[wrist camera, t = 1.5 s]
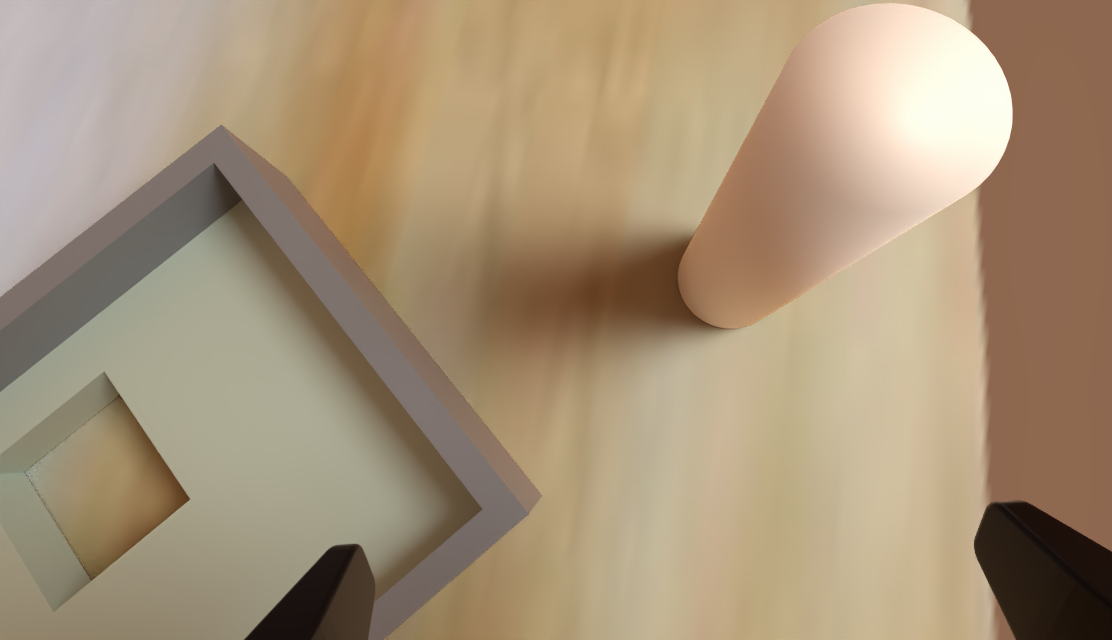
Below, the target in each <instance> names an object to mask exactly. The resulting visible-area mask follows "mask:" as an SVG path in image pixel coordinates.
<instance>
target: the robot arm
mask: <svg viewBox="0 0 1112 640" xmlns="http://www.w3.org/2000/svg"><path fill="white" fill-rule="evenodd" d="M974 550H975V554H976V557H977V560H978V562H979V564H980V566H981V568H982V570H983V572H984V574H985V576H986V579H987V581H988V583H989V585H990V587H991V589H992V591H993V593H994V595H995V597H996V600H997V602H998V604H999V606H1000V608H1001V610H1002V612H1003V614H1004V616H1005V618H1006V620H1007V623H1008V625H1009V626H1010V629H1011V631H1012V633H1013V635H1014V637H1015V639H1016V640H1112V552H1111V551H1110V550H1108V549H1107V548H1105V547H1103V546H1101V545H1100V544H1098V543H1096V542H1095V541H1093V540H1091V539H1089V538H1088V537H1086V536H1084V535H1083V534H1081V533H1079V532H1077V531H1076V530H1074V529H1072V528H1071V527H1069V526H1067V525H1066V524H1064V523H1062V522H1060V521H1059V520H1057V519H1055V518H1054V517H1052V516H1050V515H1049V514H1047V513H1045V512H1043V511H1042V510H1040V509H1038V508H1037V507H1035V506H1033V505H1031V504H1029V503H1027V502H1025V501H1021V500H1008V501H995V502H991V503H990V504H989V505H988V506H987V507H986V509H985V512H984V514H983V517H982V520H981V523H980V525H979V528H978V531H977V533H976V536H975V539H974ZM375 591H376V586H375V579H374V576H373V573H372V570H371V568H370V565H369V563H368V560H367V558H366V555H365V552H364V550H363V548H362V547H361V546H360V545H359V544H342V545H334V546H332V547H331V548H329V549H328V550H327V551H326V552H325V553H324V554H323V555H322V556H321V557H320V558H319V559H318V560H317V561H316V563H315V564H314V565H313V566H312V567H311V568H310V569H309V570H308V571H307V572H306V573H305V574H304V575H303V576H302V578H301V579H300V580H299V581H298V582H297V583H296V584H295V585H294V586H293V587H292V588H291V589H290V590H289V592H288V593H287V594H286V595H285V596H284V597H283V598H282V599H281V600H280V601H279V602H278V603H277V604H276V605H275V607H274V608H273V609H272V610H271V611H270V612H269V613H268V614H267V615H266V616H265V617H264V618H263V619H262V620H261V622H260V623H259V624H258V625H257V626H256V627H255V628H254V629H253V630H252V631H251V632H250V633H249V634H248V636H247V637H246V638H245V639H244V640H368V638H369V631H370V625H371V619H372V612H373V606H374V600H375Z"/></svg>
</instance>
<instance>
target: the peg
mask: <svg viewBox="0 0 1112 640" xmlns="http://www.w3.org/2000/svg"><path fill="white" fill-rule="evenodd" d="M1011 127H1012V102H1011V95H1010V92H1009V88H1008V84H1007V81H1006V79H1005V76H1004V74H1003V72H1002V69H1001V68H1000V66H999V64H998V63H997V61H996V59H995V58H994V56H993V55H992V54H991V52H990V51H989V50H988V48H987V47H986V46H985V45H984V44H983V43H982V42H981V41H980V40H979V39H978V38H977V37H976V36H975V35H974V34H973V33H971V32H970V31H969V30H967V29H966V28H965V27H964V26H962V25H960V24H959V23H957V22H955V21H954V20H952V19H950V18H948V17H946V16H944V15H942V14H939V13H937V12H934V11H931V10H928V9H925V8H922V7H917V6H912V5H906V4H895V3H884V4H872V5H865V6H860V7H856V8H852V9H849V10H846V11H844V12H841V13H839V14H836V15H834V16H832V17H831V18H829V19H827V20H825V21H823V22H822V23H821V24H819V25H818V26H816V27H815V28H814V29H812V30H811V31H810V32H809V33H808V34H807V35H806V36H805V37H804V38H803V39H802V40H801V41H800V42H799V44H798V45H797V46H796V47H795V49H794V50H793V52H792V53H791V55H790V57H789V59H788V60H787V62H786V64H785V66H784V68H783V70H782V71H781V73H780V75H779V77H778V79H777V81H776V83H775V84H774V86H773V88H772V90H771V92H770V94H769V96H768V98H767V99H766V101H765V103H764V105H763V107H762V109H761V111H760V113H759V114H758V116H757V118H756V120H755V122H754V124H753V126H752V128H751V129H750V131H749V133H748V135H747V137H746V139H745V141H744V142H743V144H742V146H741V148H740V150H739V152H738V154H737V156H736V157H735V159H734V161H733V163H732V165H731V167H730V169H729V171H728V172H727V174H726V176H725V178H724V180H723V182H722V184H721V185H720V187H719V189H718V191H717V193H716V195H715V197H714V199H713V200H712V202H711V204H710V206H709V208H708V210H707V212H706V214H705V215H704V217H703V219H702V221H701V223H700V225H699V227H698V229H697V230H696V232H695V234H694V236H693V238H692V240H691V242H690V243H689V245H688V247H687V249H686V251H685V253H684V255H683V257H682V259H681V261H680V265H679V268H678V287H679V291H680V294H681V296H682V299H683V301H684V302H685V304H686V306H687V307H688V308H689V309H690V311H691V312H692V313H693V314H694V315H695V316H697V317H698V318H699V319H701V320H702V321H704V322H706V323H708V324H710V325H713V326H716V327H719V328H726V329H736V328H743V327H747V326H749V325H752V324H754V323H756V322H758V321H760V320H761V319H763V318H764V317H766V316H768V315H769V314H771V313H773V312H774V311H776V310H778V309H779V308H781V307H783V306H784V305H786V304H788V303H789V302H791V301H792V300H794V299H796V298H797V297H799V296H801V295H802V294H804V293H806V292H807V291H809V290H811V289H812V288H814V287H815V286H817V285H819V284H820V283H822V282H824V281H825V280H827V279H829V278H830V277H832V276H834V275H835V274H837V273H839V272H840V271H842V270H843V269H845V268H847V267H848V266H850V265H852V264H853V263H855V262H857V261H858V260H860V259H862V258H863V257H865V256H866V255H868V254H870V253H871V252H873V251H875V250H876V249H878V248H880V247H881V246H883V245H885V244H886V243H888V242H890V241H891V240H893V239H894V238H896V237H898V236H899V235H901V234H903V233H904V232H906V231H908V230H909V229H911V228H913V227H914V226H916V225H917V224H919V223H921V222H922V221H924V220H926V219H927V218H929V217H931V216H932V215H934V214H936V213H937V212H939V211H941V210H942V209H944V208H945V207H947V206H949V205H950V204H952V203H954V202H955V201H957V200H959V199H960V198H962V197H964V196H965V195H967V194H968V193H970V192H971V191H972V190H974V189H975V188H976V187H978V186H979V185H980V184H981V183H982V182H983V181H984V180H985V179H986V178H987V177H988V176H989V175H990V174H991V172H992V171H993V170H994V168H995V167H996V166H997V164H998V163H999V161H1000V159H1001V157H1002V155H1003V153H1004V151H1005V149H1006V146H1007V143H1008V140H1009V137H1010V132H1011Z"/></svg>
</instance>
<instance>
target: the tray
mask: <svg viewBox="0 0 1112 640" xmlns="http://www.w3.org/2000/svg"><path fill="white" fill-rule="evenodd" d="M119 395H120V396H121V397H122V398H123V400H124V401H125V403H126V404H127V406H128V407H129V409H130V410H131V412H132V413H133V415H134V416H135V418H136V419H137V421H138V422H139V424H140V425H141V427H142V428H143V430H144V431H145V433H146V434H147V436H148V437H149V439H150V440H151V442H152V443H153V445H154V446H155V448H156V449H157V451H158V452H159V453H160V455H161V456H162V458H163V459H164V461H165V462H166V464H167V465H168V467H169V468H170V470H171V471H172V473H173V474H174V476H175V477H176V479H177V480H178V482H179V483H180V485H181V486H182V488H183V489H184V491H185V492H186V494H187V495H188V497H189V498H190V500H189V501H188V502H186V503H185V504H184V505H183V506H182V507H180V508H179V509H178V510H177V511H176V512H174V513H173V514H172V515H171V516H169V517H168V518H167V519H166V520H165V521H163V522H162V523H161V524H160V525H159V526H157V527H156V528H155V529H154V530H153V531H151V532H150V533H149V534H148V535H146V536H145V537H144V538H143V539H142V540H140V541H139V542H138V543H137V544H136V545H134V546H133V547H132V548H131V549H129V550H128V551H127V552H126V553H125V554H123V555H122V556H121V557H120V558H119V559H117V560H116V561H115V562H114V563H113V564H111V565H110V566H109V567H108V568H106V569H105V570H104V571H103V572H102V573H100V574H99V575H98V576H97V577H96V578H94V579H93V580H92V581H91V580H90V578H89V576H88V575H87V573H86V572H85V570H84V568H83V567H82V565H81V564H80V562H79V560H78V559H77V557H76V555H75V554H74V552H73V551H72V549H71V547H70V546H69V544H68V543H67V541H66V539H65V538H64V536H63V534H62V533H61V531H60V530H59V528H58V526H57V525H56V523H55V522H54V520H53V518H52V517H51V515H50V513H49V512H48V510H47V509H46V507H45V505H44V504H43V502H42V501H41V499H40V497H39V496H38V494H37V493H36V491H35V489H34V488H33V486H32V484H31V483H30V481H29V480H28V478H27V476H26V475H25V473H24V472H25V471H26V470H27V469H28V468H30V467H31V466H32V465H33V464H35V463H36V462H37V461H38V460H39V459H41V458H42V457H43V456H44V455H46V454H47V453H48V452H49V451H51V450H52V449H53V448H54V447H56V446H57V445H58V444H59V443H61V442H62V441H63V440H64V439H66V438H67V437H68V436H69V435H71V434H72V433H73V432H74V431H75V430H77V429H78V428H79V427H80V426H82V425H83V424H84V423H85V422H87V421H88V420H89V419H90V418H92V417H93V416H94V415H95V414H97V413H98V412H99V411H100V410H102V409H103V408H104V407H105V406H107V405H108V404H109V403H110V402H111V401H113V400H114V399H115V398H116V397H118V396H119ZM541 496H542V495H541V494H540V493H539V491H538V490H537V489H536V488H535V486H534V485H533V484H532V483H531V481H530V480H529V479H528V478H527V476H526V475H525V474H524V473H523V471H522V470H521V469H520V468H519V466H518V465H517V464H516V463H515V461H514V460H513V459H512V458H511V456H510V455H509V454H508V453H507V451H506V450H505V449H504V448H503V446H502V445H501V444H500V443H499V441H498V440H497V439H496V438H495V436H494V435H493V434H492V433H491V431H490V430H489V429H488V428H487V426H486V425H485V424H484V423H483V421H482V420H481V419H480V418H479V416H478V415H477V414H476V413H475V411H474V410H473V409H472V408H471V406H470V405H469V404H468V403H467V401H466V400H465V399H464V398H463V396H462V395H461V394H460V392H459V391H458V390H457V389H456V387H455V386H454V385H453V384H452V382H451V381H450V380H449V379H448V377H447V376H446V375H445V374H444V372H443V371H442V370H441V369H440V367H439V366H438V365H437V364H436V362H435V361H434V360H433V359H432V357H431V356H430V355H429V354H428V352H427V351H426V350H425V349H424V347H423V346H422V345H421V344H420V342H419V341H418V340H417V339H416V337H415V336H414V335H413V334H412V332H411V331H410V330H409V329H408V327H407V326H406V325H405V324H404V322H403V321H402V320H401V319H400V317H399V316H398V315H397V314H396V312H395V311H394V310H393V309H392V307H391V306H390V305H389V304H388V302H387V301H386V300H385V299H384V297H383V296H382V295H381V294H380V292H379V291H378V290H377V289H376V287H375V286H374V285H373V284H372V282H371V281H370V280H369V279H368V277H367V276H366V275H365V274H364V272H363V271H362V270H361V269H360V267H359V266H358V265H357V264H356V262H355V261H354V260H353V259H352V257H351V256H350V255H349V254H348V252H347V251H346V250H345V249H344V247H343V246H342V245H341V244H340V242H339V241H338V240H337V239H336V237H335V236H334V235H333V234H332V232H331V231H330V230H329V229H328V227H327V226H326V225H325V224H324V222H323V221H322V220H321V219H320V217H319V216H318V215H317V214H316V212H315V211H314V210H313V209H312V207H311V206H310V205H309V204H308V202H307V201H306V200H305V199H304V197H303V196H302V195H301V194H300V192H299V191H298V190H297V189H296V187H295V186H294V185H293V184H292V182H291V181H290V180H289V179H288V177H287V176H285V175H284V174H283V173H282V172H280V171H279V170H278V169H277V168H275V167H274V166H273V165H272V164H270V163H269V162H268V161H267V160H265V159H264V158H263V157H261V156H260V155H259V154H258V153H256V152H255V151H254V150H253V149H251V148H250V147H249V146H248V145H246V144H245V143H244V142H243V141H241V140H240V139H239V138H237V137H236V136H235V135H234V134H232V133H231V132H230V131H229V130H227V129H226V128H225V127H224V126H222V125H220V126H219V127H218V128H216V129H215V130H214V131H212V132H211V133H210V134H209V135H207V136H206V137H205V138H204V139H202V140H201V141H200V142H198V143H197V144H196V145H195V146H193V147H192V148H191V149H189V150H188V151H187V152H186V153H184V154H183V155H182V156H180V157H179V158H178V159H177V160H175V161H174V162H173V163H172V164H170V165H169V166H168V167H166V168H165V169H164V170H163V171H161V172H160V173H159V174H157V175H156V176H155V177H154V178H152V179H151V180H150V181H149V182H147V183H146V184H145V185H143V186H142V187H141V188H140V189H138V190H137V191H136V192H134V193H133V194H132V195H131V196H129V197H128V198H127V199H125V200H124V201H123V202H122V203H120V204H119V205H118V206H117V207H115V208H114V209H113V210H111V211H110V212H109V213H108V214H106V215H105V216H104V217H102V218H101V219H100V220H99V221H97V222H96V223H95V224H94V225H92V226H91V227H90V228H88V229H87V230H86V231H85V232H83V233H82V234H81V235H79V236H78V237H77V238H76V239H74V240H73V241H72V242H70V243H69V244H68V245H67V246H65V247H64V248H63V249H62V250H60V251H59V252H58V253H56V254H55V255H54V256H53V257H51V258H50V259H49V260H47V261H46V262H45V263H44V264H42V265H41V266H40V267H39V268H37V269H36V270H35V271H33V272H32V273H31V274H30V275H28V276H27V277H26V278H24V279H23V280H22V281H21V282H19V283H18V284H17V285H15V286H14V287H13V288H12V289H10V290H9V291H8V292H7V293H5V294H4V295H3V296H1V297H0V640H244V639H245V638H246V637H247V636H248V634H249V633H250V632H251V631H252V630H253V629H254V628H255V627H256V626H257V625H258V624H259V623H260V622H261V620H262V619H263V618H264V617H265V616H266V615H267V614H268V613H269V612H270V611H271V610H272V609H273V608H274V607H275V605H276V604H277V603H278V602H279V601H280V600H281V599H282V598H283V597H284V596H285V595H286V594H287V593H288V592H289V590H290V589H291V588H292V587H293V586H294V585H295V584H296V583H297V582H298V581H299V580H300V579H301V578H302V576H303V575H304V574H305V573H306V572H307V571H308V570H309V569H310V568H311V567H312V566H313V565H314V564H315V563H316V561H317V560H318V559H319V558H320V557H321V556H322V555H323V554H324V553H325V552H326V551H327V550H328V549H329V548H331V547H332V546H334V545H342V544H359V545H360V546H361V547H362V548H363V550H364V552H365V555H366V558H367V560H368V563H369V565H370V568H371V570H372V573H373V576H374V579H375V586H376V591H375V600H374V606H373V612H372V619H371V625H370V631H369V638H368V640H383V639H385V638H386V637H387V636H388V635H389V634H390V633H391V632H393V631H394V630H395V629H396V628H397V627H398V626H400V625H401V624H402V623H403V622H404V621H405V620H407V619H408V618H409V617H410V616H411V615H412V614H413V613H415V612H416V611H417V610H418V609H419V608H420V607H422V606H423V605H424V604H425V603H426V602H427V601H429V600H430V599H431V598H432V597H433V596H434V595H435V594H437V593H438V592H439V591H440V590H441V589H442V588H444V587H445V586H446V585H447V584H448V583H449V582H451V581H452V580H453V579H454V578H455V577H456V576H458V575H459V574H460V573H461V572H462V571H463V570H464V569H466V568H467V567H468V566H469V565H470V564H471V563H473V562H474V561H475V560H476V559H477V558H478V557H480V556H481V555H482V554H483V553H484V552H485V551H486V550H488V549H489V548H490V547H491V546H492V545H493V544H495V543H496V542H497V541H498V540H499V539H500V538H502V537H503V536H504V535H505V534H506V533H507V532H508V531H510V530H511V529H512V528H513V527H514V526H515V525H517V524H518V523H519V522H520V521H521V520H522V519H524V518H525V517H526V516H527V515H528V514H529V513H530V512H531V510H532V509H533V507H534V506H535V504H536V503H537V502H538V500H539V499H540V497H541Z"/></svg>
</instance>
